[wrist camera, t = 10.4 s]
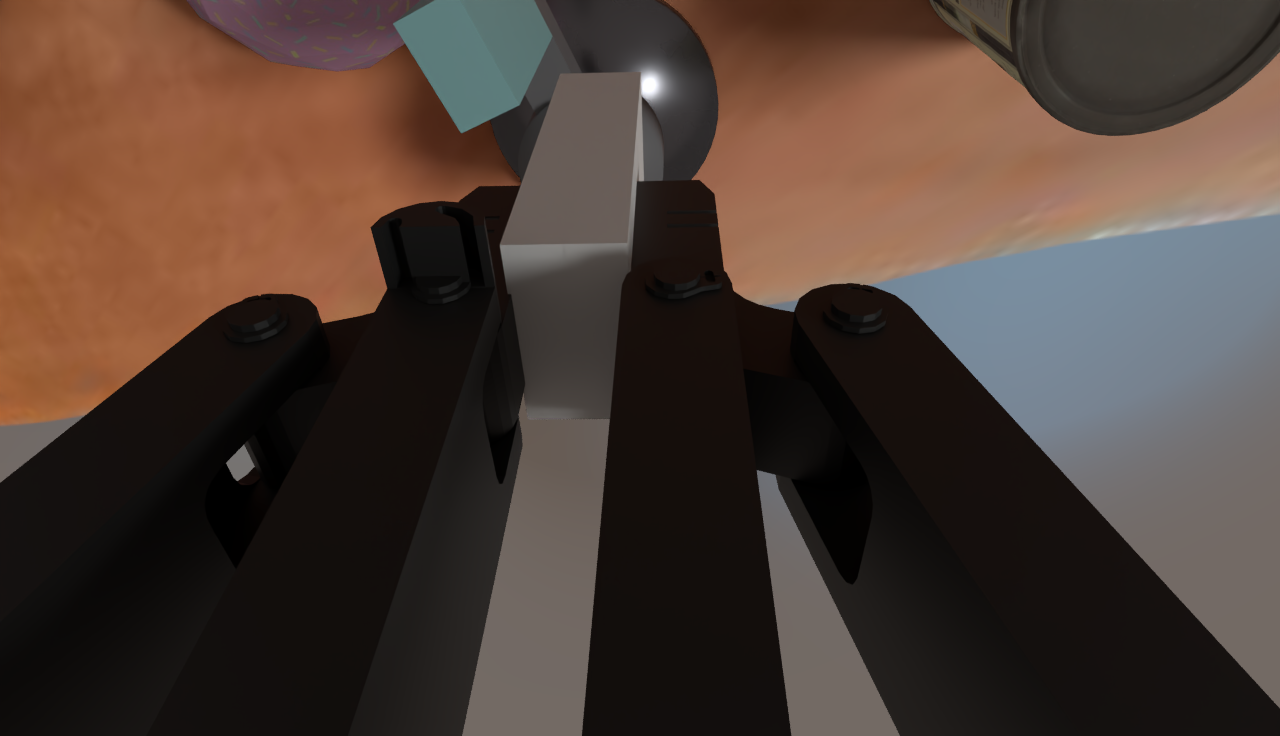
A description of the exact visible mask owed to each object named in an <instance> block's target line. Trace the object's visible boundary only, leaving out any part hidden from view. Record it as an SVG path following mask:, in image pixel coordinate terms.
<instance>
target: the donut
mask: <svg viewBox="0 0 1280 736" xmlns="http://www.w3.org/2000/svg"><path fill="white" fill-rule="evenodd" d="M187 1H188V3H189V4H190V5H191V7H192V8H193V9H194V10H195V12H196V13H197V14H198V15H199V17H200V18H202V19H204V20H205V21H207V22H208V23H210V24H211V25H213V26H215V27H216V28H218V29H219V30H221V31H223V32H224V33H226V34H227V35H229V36H231V37H232V38H234V39H235V40H237V41H239V42H240V43H242V44H243V45H245V46H247V47H248V48H250V49H251V50H253V51H255V52H256V53H258V54H259V55H261V56H263V57H264V58H266V59H267V60H269V61H271V62H275V63H282V64H288V65H294V66H300V67H308V68H315V69H323V70H331V71H345V70H354V69H363V68H370V67H371V66H373V65H374V64H376V63H377V62H379V61H380V60H381V59H383V58H384V57H386V56H387V55H389V54H390V53H392V52H393V51H395V50H396V49H398V48H399V47H401V46H402V45H404V44H405V42H404V41H403V39H402V37H401V36H400V34H399V33H398V31H397V29H396V28H395V26H394V25H393V23H394V22H395V21H397V20H398V19H399V18H400V17H401V16H402V15H404V14H405V13H406V12H407V11H408V10H409V9H411V8H412V7H413V6H414V5H415V4H417V3H418V2H419V1H420V0H187Z"/></svg>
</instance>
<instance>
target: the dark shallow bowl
mask: <svg viewBox="0 0 1280 736" xmlns="http://www.w3.org/2000/svg"><path fill="white" fill-rule="evenodd" d="M546 2H547V4H548V6H549V8H550V10H551V12H552V14H553V16H554V18H555V20H556V22H557V24H558V26H559V28H560V30H561V32H562V34H563V36H564V38H565V40H566V42H567V44H568V46H569V48H570V50H571V52H572V54H573V56H574V58H575V60H576V62H577V64H578V66H579V68H580V70H581V72H582V73H612V72H641V94H642V97H643V98H644V99H645V100H646V101H647V102H648V103H649V105H650V106H651V108H652V109H653V110H654V112H655V114H656V116H657V118H658V120H659V123H660V125H661V129H662V133H663V139H664V164H663V180H662V181H676V180H691V179H692V178H693V177H694V176H695V174H696V173H697V172H698V170H699V169H700V167H701V166H702V164H703V162H704V161H705V159H706V157H707V154H708V152H709V150H710V148H711V145H712V142H713V139H714V135H715V131H716V125H717V120H718V95H717V86H716V80H715V75H714V71H713V67H712V64H711V61H710V58H709V56H708V53H707V51H706V49H705V47H704V45H703V43H702V41H701V39H700V38H699V36H698V35H697V33H696V32H695V31H694V29H693V28H692V26H691V25H690V24H689V23H688V22H687V21H686V20H685V18H684V17H683V16H682V15H681V14H680V13H679V12H678V11H676V10H675V9H674V8H673V7H671V6H670V5H669V4H668V3H666V2H665V1H663V0H546ZM533 113H534V110H533V108H532V106H531V105H530V103H529V101H528V99H527V97H526V96H525V95H524V97H523V99H522V101H521V103H520V105H519V106H517V107H515V108H513V109H510V110H508V111H506V112H504V113H502V114H500V115H498V116H496V117H494V118H492V119H490V121H491V125H492V128H493V132H494V135H495V138H496V140H497V143H498V145H499V147H500V150H501V151H502V153H503V155H504V157H505V159H506V160H507V162H508V163H509V165H510V166H511V167H512V169H513V170H514V172H515V173H516V174H517V175H518V176H519V170H518V154H519V149H520V144H521V142H522V139H523V136H524V134H525V131H526V129H527V127H528V124H529V122H530V120H531V117H532V115H533ZM519 177H520V176H519Z"/></svg>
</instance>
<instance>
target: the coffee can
mask: <svg viewBox="0 0 1280 736" xmlns="http://www.w3.org/2000/svg"><path fill="white" fill-rule="evenodd" d="M929 1H930V3H931V5H932V7H933V8H934V10H935V11H936V13H937V15H938V16H939V17H941V18H942V20H943V21H944V22H945V23H947V24H948V25H949V26H950V27H952V28H953V29H955V30H956V31H957V32H959V33H961V34H963V35H964V36H965V37H966V38H967V39H968V40H969V41H971V42H972V43H973V44H974V45H975V46H977V47H978V48H979V49H980V50H982V51H983V52H984V53H985V54H986V55H988V56H989V57H990V58H991V59H992V60H993V61H995V62H996V63H997V64H998V65H999V66H1000V67H1001V68H1002V69H1003V70H1005V71H1006V72H1007V73H1008V74H1009V75H1010V76H1012V77H1013V78H1014V79H1015V80H1017V81H1018V82H1019V83H1021V84H1022V85H1023V86H1024V87H1025V88H1026V89H1027V90H1028V92H1029V93H1030V95H1031V96H1032V97H1033V98H1034V99H1035V101H1036V102H1037V103H1038V104H1039V105H1040V106H1041V107H1042V108H1043V109H1044V110H1045V111H1047V112H1048V113H1049V114H1050V115H1051V116H1052V117H1054V118H1055V119H1057V120H1058V121H1060V122H1062V123H1064V124H1066V125H1068V126H1070V127H1072V128H1074V129H1076V130H1080V131H1083V132H1087V133H1092V134H1096V135H1108V136H1122V135H1134V134H1141V133H1146V132H1151V131H1156V130H1160V129H1163V128H1166V127H1170V126H1173V125H1176V124H1178V123H1181V122H1183V121H1186V120H1188V119H1190V118H1193V117H1195V116H1197V115H1199V114H1200V113H1202V112H1205V111H1206V110H1208V109H1209V108H1211V107H1212V106H1214V105H1216V104H1218V103H1219V102H1221V101H1223V100H1224V99H1226V98H1227V97H1229V96H1230V95H1231V94H1233V93H1234V92H1235V91H1237V90H1238V89H1239V88H1241V87H1242V86H1243V85H1245V84H1246V83H1247V82H1248V81H1249V80H1251V79H1252V78H1253V77H1254V76H1255V75H1257V74H1258V73H1259V72H1260V71H1261V70H1262V69H1263V68H1264V67H1265V66H1266V65H1267V64H1268V63H1270V62H1271V60H1272V59H1273V58H1274V57H1275V56H1276V55H1277V54H1278V53H1279V52H1280V0H929Z"/></svg>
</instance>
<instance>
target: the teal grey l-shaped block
mask: <svg viewBox="0 0 1280 736" xmlns="http://www.w3.org/2000/svg"><path fill="white" fill-rule="evenodd" d="M393 25H394V26H395V28H396V29H397V31H398V33H399V34H400V36H401V37H402V39H403V41H404V42H405V44H406V46H407V47H408V49H409V50H410V52H411V54H412V55H413V57H414V58H415V60H416V62H417V63H418V65H419V66H420V68H421V70H422V71H423V73H424V74H425V76H426V78H427V79H428V81H429V82H430V84H431V86H432V87H433V89H434V90H435V92H436V94H437V95H438V97H439V99H440V100H441V102H442V103H443V105H444V107H445V108H446V110H447V111H448V113H449V115H450V116H451V118H452V119H453V121H454V123H455V124H456V126H457V127H458V129H459V131H460V132H461V133H463V132H465V131H468V130H470V129H472V128H474V127H476V126H478V125H480V124H482V123H484V122H486V121H488V120H490V119H492V118H494V117H496V116H498V115H500V114H502V113H504V112H506V111H508V110H510V109H513V108H515V107H517V106H519V105H520V103H521V101H522V99H523V97H524V95H525V96H526V97H527V99H528V101H529V103H530V105H531V106H532V108H533V110H534V113H533V115H532V117H531V120H530V122H529V124H528V127H527V129H526V131H525V134H524V136H523V139H522V142H521V144H520V149H519V154H518V170H519V176H520V181H521V183H522V181H523V178H524V175H525V172H526V169H527V167H528V164H529V161H530V158H531V155H532V152H533V150H534V147H535V144H536V141H537V138H538V135H539V133H540V130H541V127H542V124H543V121H544V118H545V116H546V113H547V110H548V107H549V104H550V101H551V99H552V96H553V93H554V90H555V87H556V84H557V82H558V79H559V76H560V74H569V73H582V72H581V70H580V68H579V66H578V64H577V62H576V60H575V58H574V56H573V54H572V52H571V50H570V48H569V46H568V44H567V42H566V40H565V38H564V36H563V34H562V32H561V30H560V28H559V26H558V24H557V22H556V20H555V18H554V16H553V14H552V12H551V10H550V8H549V6H548V4H547V2H546V0H420V1H419V2H418V3H417V4H415V5H414V6H413V7H412V8H411V9H409V10H408V11H407V12H406V13H405V14H404V15H402V16H401V17H400V18H399V19H398V20H397V21H395V22H394V23H393ZM642 130H643V165H644V181H662V180H663V164H664V139H663V133H662V129H661V125H660V123H659V120H658V118H657V116H656V114H655V112H654V110H653V109H652V108H651V106H650V105H649V103H648V102H647V101H646V100H645V99H644V98H643V97H642Z"/></svg>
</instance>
